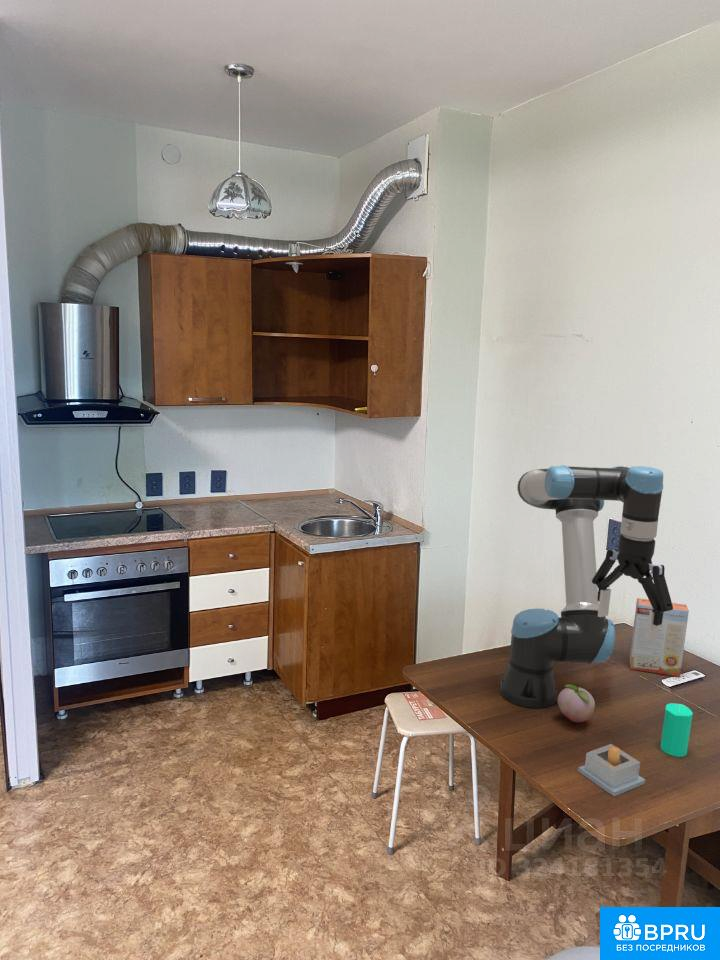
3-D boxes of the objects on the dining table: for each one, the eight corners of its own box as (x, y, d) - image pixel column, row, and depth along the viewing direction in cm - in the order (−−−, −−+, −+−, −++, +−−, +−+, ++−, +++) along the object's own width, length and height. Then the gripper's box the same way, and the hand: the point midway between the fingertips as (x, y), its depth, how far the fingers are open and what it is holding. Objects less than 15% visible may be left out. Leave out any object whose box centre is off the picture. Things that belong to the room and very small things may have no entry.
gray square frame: (584, 768, 160) (586, 752, 159) (609, 759, 164) (611, 743, 163) (613, 788, 153) (615, 771, 152) (638, 778, 157) (640, 762, 156)
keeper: (578, 771, 160) (581, 743, 159) (608, 760, 165) (612, 732, 164) (613, 796, 152) (617, 767, 150) (644, 783, 157) (648, 755, 155)
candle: (664, 739, 175) (670, 694, 173) (690, 749, 171) (697, 703, 169) (656, 749, 170) (663, 703, 168) (682, 759, 167) (689, 712, 164)
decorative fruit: (600, 726, 180) (604, 689, 178) (578, 734, 176) (582, 697, 174) (571, 709, 188) (575, 674, 186) (549, 716, 183) (553, 680, 181)
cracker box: (678, 669, 214) (687, 603, 210) (680, 678, 209) (689, 610, 205) (628, 661, 218) (636, 596, 214) (629, 669, 213) (637, 603, 209)
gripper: (582, 524, 167) (573, 610, 171) (676, 554, 146) (662, 650, 150) (604, 521, 171) (595, 605, 175) (698, 550, 149) (685, 644, 154)
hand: (626, 626), depth 162 cm, fingers open, 13 cm apart
